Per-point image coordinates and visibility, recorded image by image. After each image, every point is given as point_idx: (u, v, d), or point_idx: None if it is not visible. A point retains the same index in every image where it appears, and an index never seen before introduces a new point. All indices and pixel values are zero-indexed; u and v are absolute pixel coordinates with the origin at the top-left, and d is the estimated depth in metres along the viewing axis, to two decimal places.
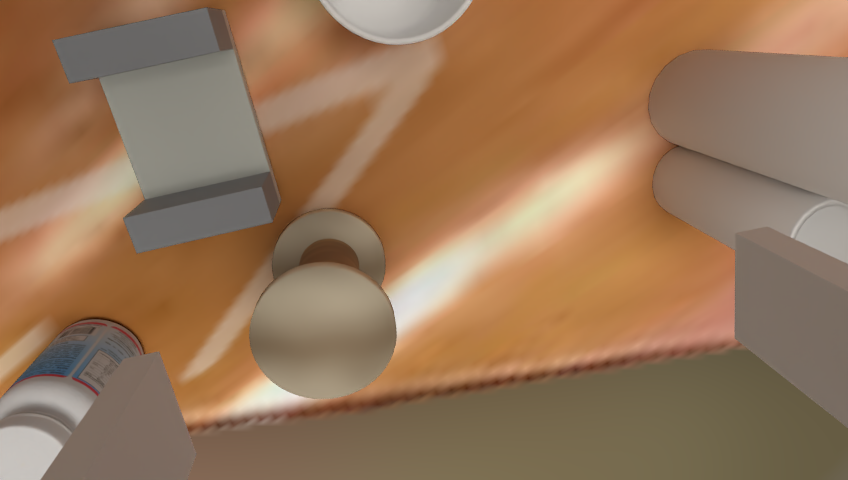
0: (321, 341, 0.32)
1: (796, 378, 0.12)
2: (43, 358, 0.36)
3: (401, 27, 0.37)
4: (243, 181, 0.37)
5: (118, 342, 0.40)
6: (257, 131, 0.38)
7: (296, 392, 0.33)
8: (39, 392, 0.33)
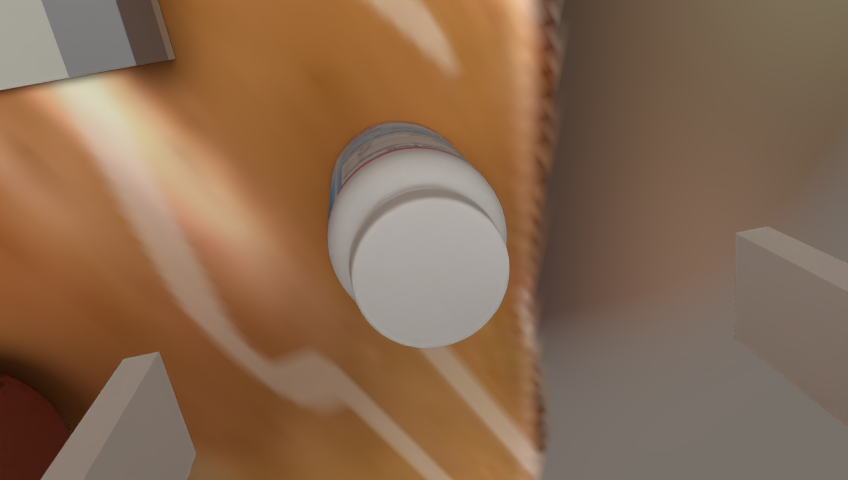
0: None
1: (796, 378, 0.12)
2: None
3: None
4: None
5: (352, 145, 0.25)
6: None
7: None
8: (338, 240, 0.19)
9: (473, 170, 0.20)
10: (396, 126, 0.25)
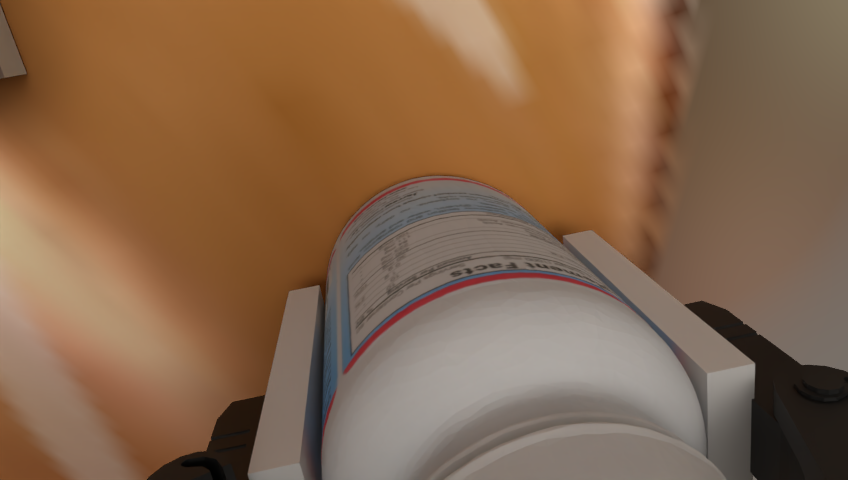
0: None
1: None
2: None
3: None
4: None
5: (366, 225, 0.14)
6: None
7: None
8: None
9: (648, 330, 0.09)
10: (445, 191, 0.14)
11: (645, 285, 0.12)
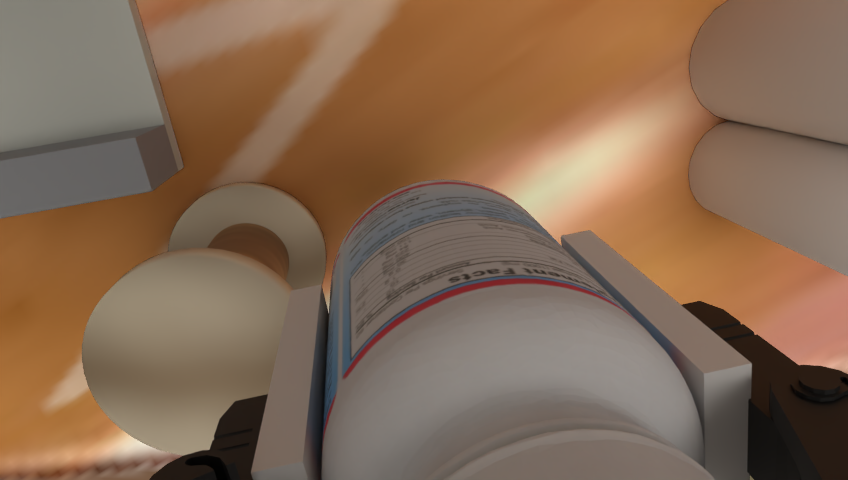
0: (197, 370, 0.21)
1: None
2: None
3: None
4: (121, 134, 0.26)
5: (369, 229, 0.14)
6: (146, 65, 0.27)
7: (159, 445, 0.21)
8: None
9: (644, 336, 0.09)
10: (447, 196, 0.14)
11: (643, 285, 0.12)
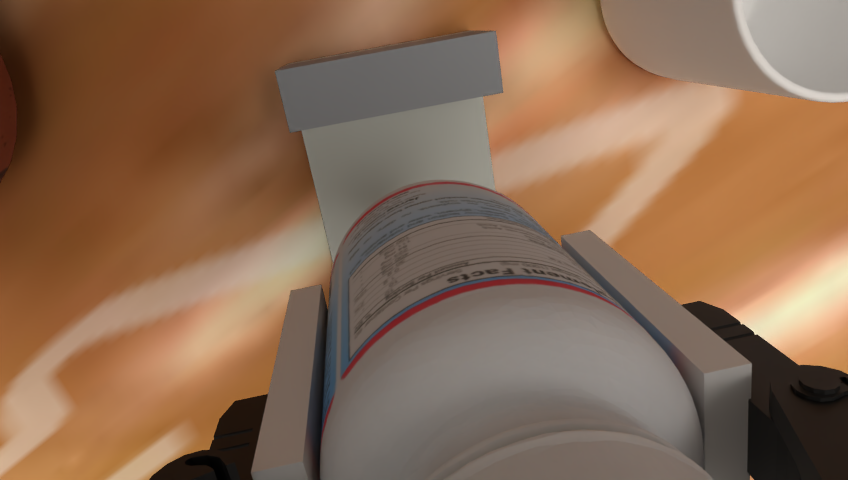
0: None
1: None
2: None
3: None
4: None
5: (368, 229, 0.14)
6: None
7: None
8: None
9: (644, 336, 0.09)
10: (446, 196, 0.14)
11: (643, 285, 0.12)
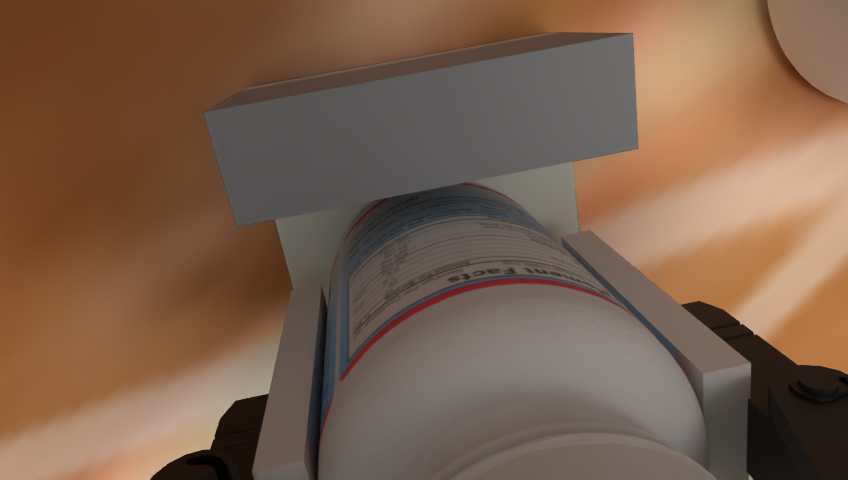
0: None
1: None
2: None
3: None
4: None
5: (368, 229, 0.14)
6: None
7: None
8: None
9: (648, 337, 0.09)
10: (447, 195, 0.14)
11: (642, 285, 0.12)
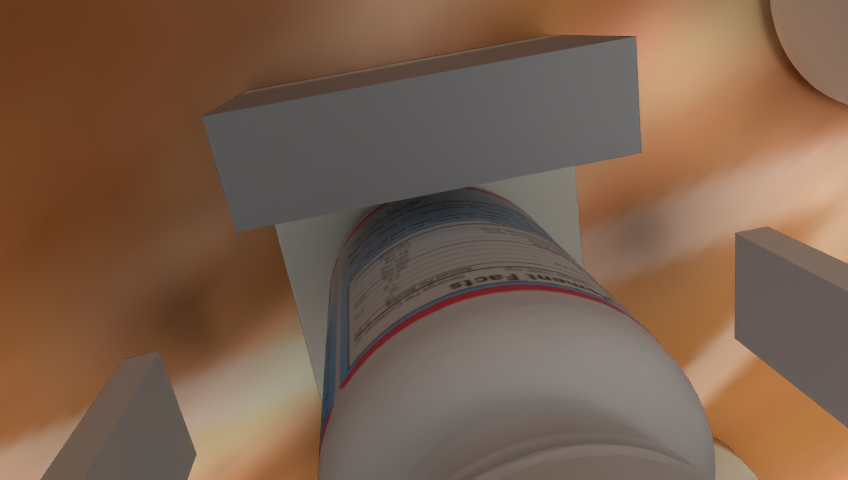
0: None
1: (796, 378, 0.12)
2: None
3: None
4: None
5: (368, 233, 0.14)
6: None
7: None
8: None
9: (653, 344, 0.08)
10: (448, 199, 0.14)
11: None
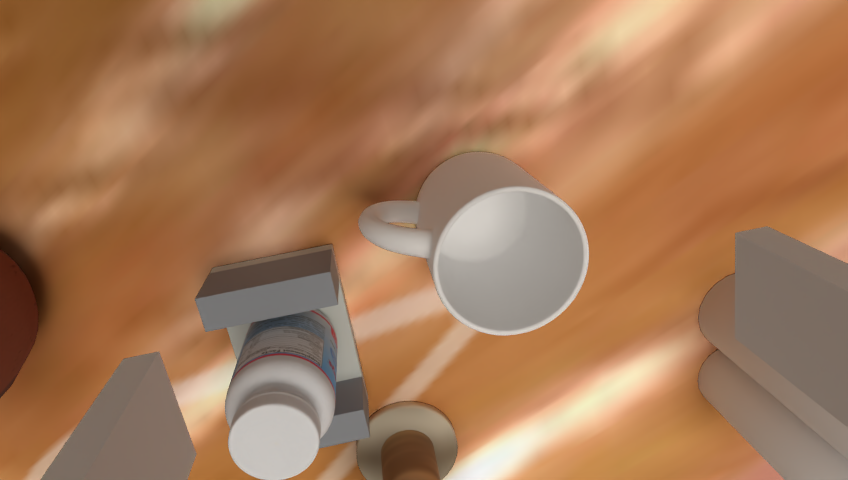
0: None
1: (796, 378, 0.12)
2: None
3: (486, 257, 0.42)
4: (340, 390, 0.42)
5: (254, 326, 0.38)
6: (353, 344, 0.42)
7: None
8: (228, 412, 0.33)
9: (309, 369, 0.33)
10: None
11: None
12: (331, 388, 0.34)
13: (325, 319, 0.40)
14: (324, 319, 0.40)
